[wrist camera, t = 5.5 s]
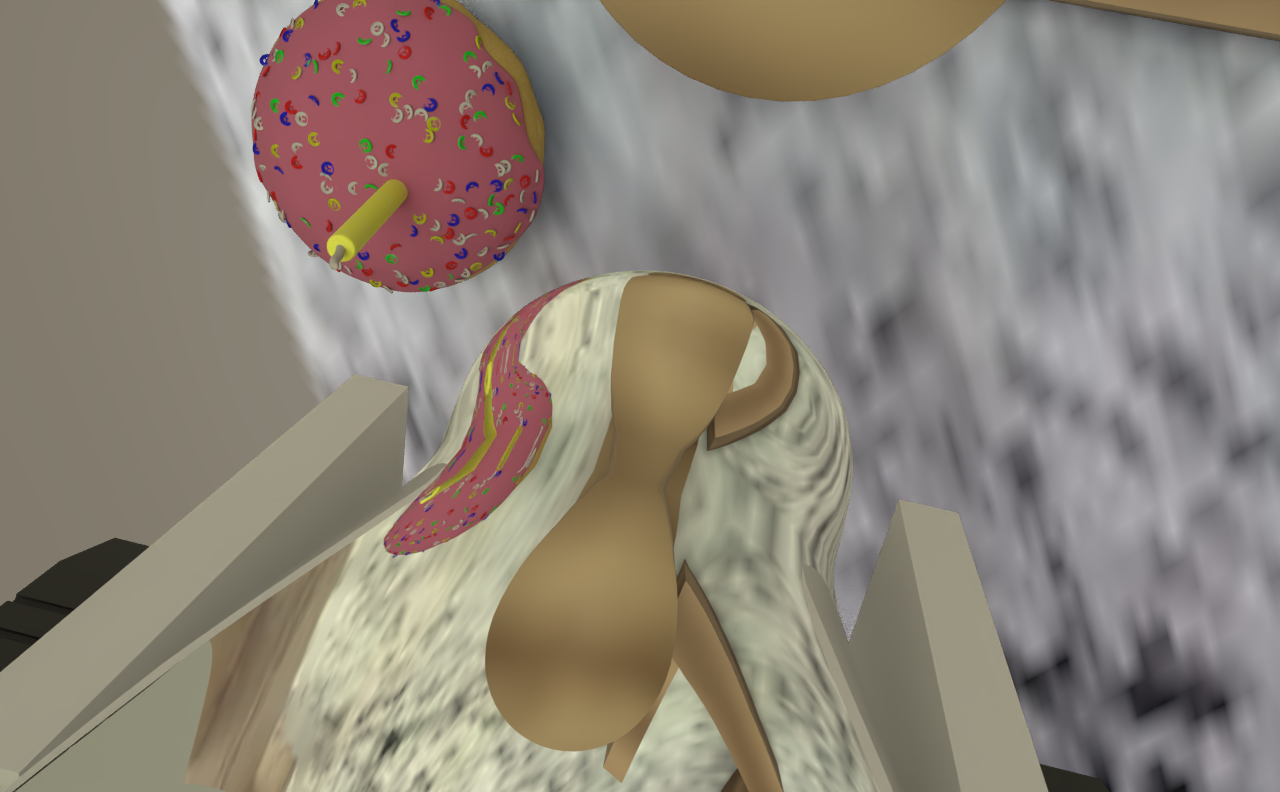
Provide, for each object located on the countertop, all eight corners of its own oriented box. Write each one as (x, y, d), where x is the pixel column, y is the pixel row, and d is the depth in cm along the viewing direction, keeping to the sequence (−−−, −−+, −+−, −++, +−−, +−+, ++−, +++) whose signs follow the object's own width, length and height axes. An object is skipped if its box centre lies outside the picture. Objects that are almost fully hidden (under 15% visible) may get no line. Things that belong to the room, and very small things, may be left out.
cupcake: (630, 120, 28) (531, 188, 18) (478, 302, 32) (316, 455, 21) (421, -75, 27) (175, -131, 16) (285, 137, 31) (6, 208, 20)
